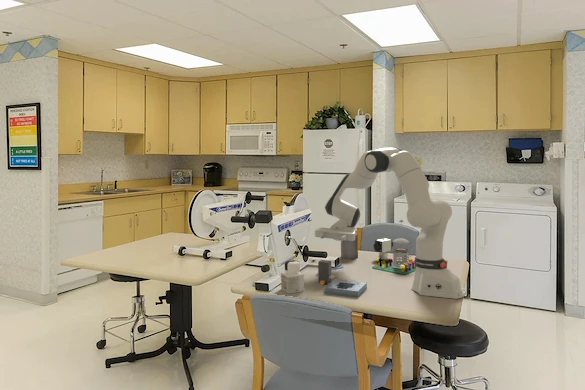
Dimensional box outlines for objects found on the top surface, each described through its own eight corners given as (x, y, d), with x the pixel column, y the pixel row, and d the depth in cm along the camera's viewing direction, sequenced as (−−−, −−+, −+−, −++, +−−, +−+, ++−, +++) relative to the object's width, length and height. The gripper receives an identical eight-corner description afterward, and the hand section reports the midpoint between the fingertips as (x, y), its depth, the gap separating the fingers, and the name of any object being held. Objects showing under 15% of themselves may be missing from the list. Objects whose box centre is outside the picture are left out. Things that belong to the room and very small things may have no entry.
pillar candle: (350, 254, 271) (350, 229, 270) (361, 257, 263) (361, 231, 262) (337, 256, 266) (337, 231, 265) (348, 260, 258) (347, 233, 257)
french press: (387, 265, 244) (388, 218, 242) (407, 264, 247) (408, 217, 245) (396, 270, 235) (397, 221, 232) (417, 268, 237) (417, 220, 235)
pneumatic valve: (393, 258, 261) (393, 237, 260) (379, 261, 254) (379, 239, 253) (385, 256, 265) (386, 235, 264) (371, 259, 258) (372, 238, 257)
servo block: (318, 280, 218) (318, 259, 217) (334, 282, 214) (334, 261, 213) (313, 283, 212) (313, 262, 211) (330, 285, 209) (330, 264, 208)
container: (281, 289, 205) (280, 260, 203) (297, 286, 208) (296, 258, 206) (287, 293, 198) (287, 264, 196) (304, 291, 201) (303, 262, 199)
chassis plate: (334, 284, 211) (334, 279, 210) (366, 288, 205) (366, 282, 204) (324, 293, 198) (324, 287, 198) (358, 297, 192) (358, 291, 192)
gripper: (318, 223, 237) (310, 229, 225) (358, 227, 231) (352, 233, 218) (318, 235, 238) (310, 241, 226) (357, 239, 232) (351, 246, 219)
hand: (331, 237), depth 222 cm, fingers open, 8 cm apart
